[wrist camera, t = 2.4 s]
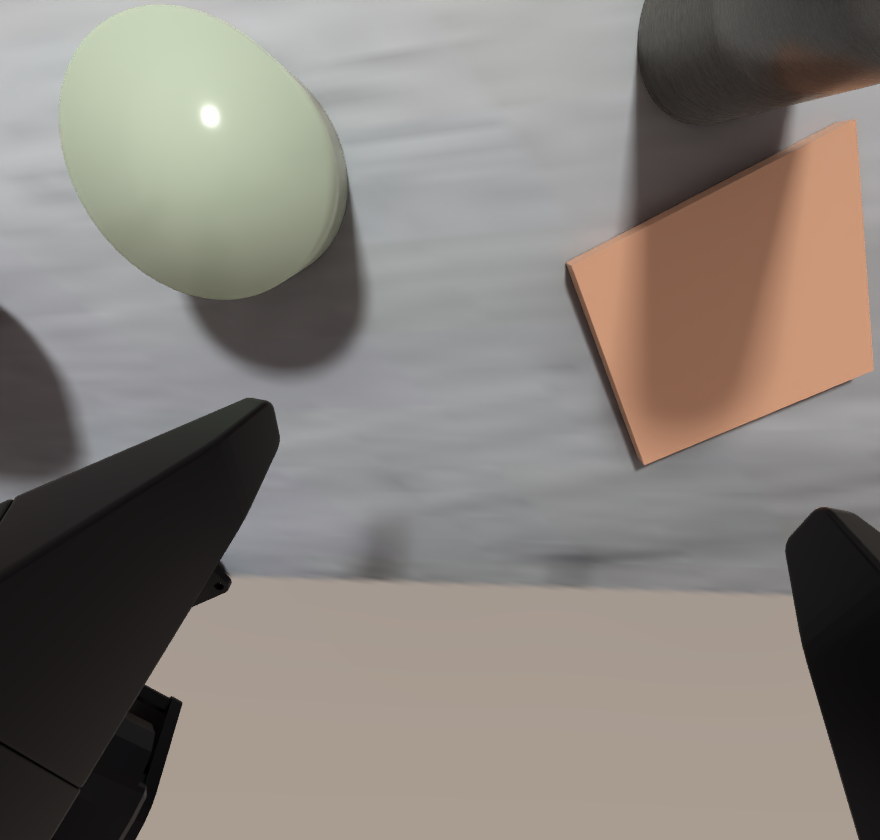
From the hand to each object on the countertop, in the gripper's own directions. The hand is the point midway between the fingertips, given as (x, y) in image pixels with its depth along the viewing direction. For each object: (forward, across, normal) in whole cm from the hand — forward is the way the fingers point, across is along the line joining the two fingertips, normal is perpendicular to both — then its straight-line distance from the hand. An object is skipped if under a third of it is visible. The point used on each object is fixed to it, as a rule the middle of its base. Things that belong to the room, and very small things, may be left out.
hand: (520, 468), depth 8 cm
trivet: (+14, -8, +2) cm, 16 cm away
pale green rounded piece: (+10, +11, -2) cm, 15 cm away
